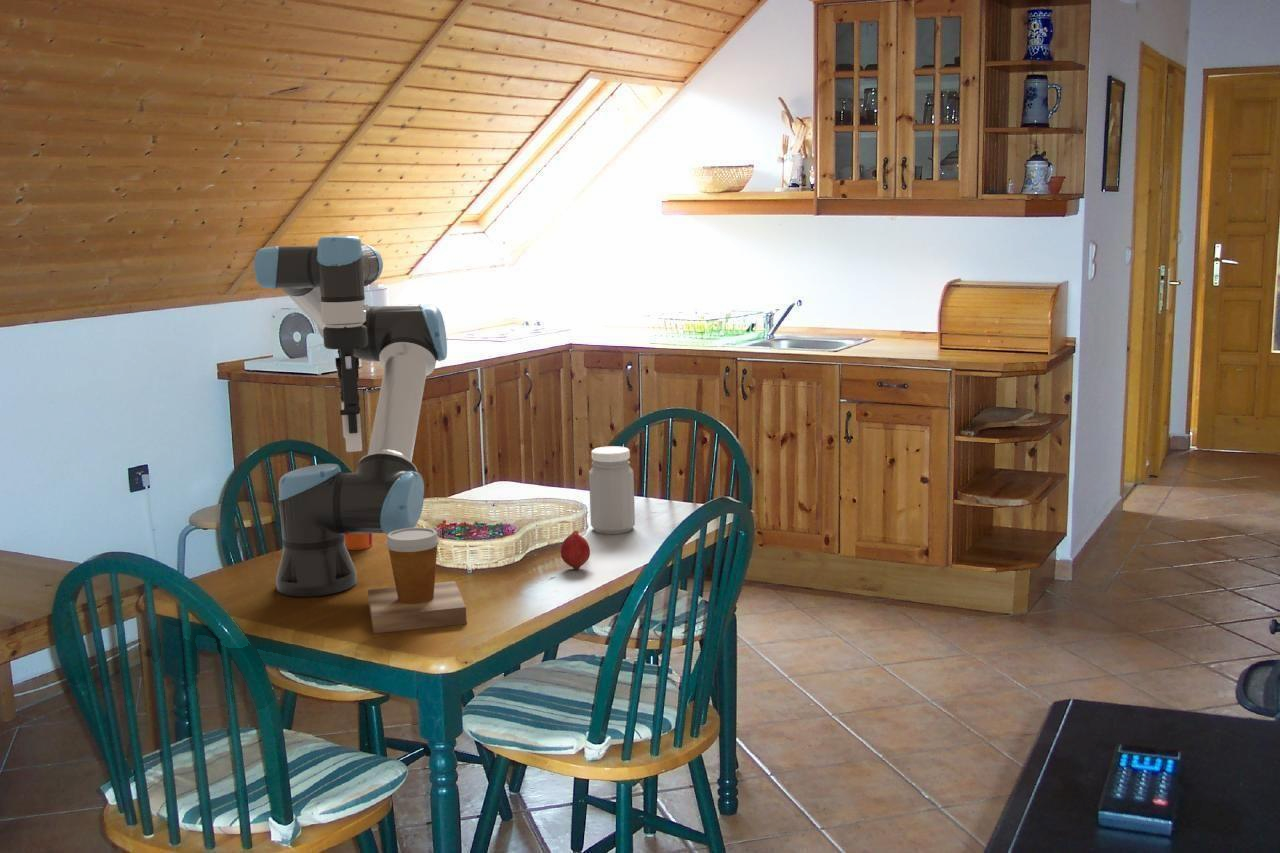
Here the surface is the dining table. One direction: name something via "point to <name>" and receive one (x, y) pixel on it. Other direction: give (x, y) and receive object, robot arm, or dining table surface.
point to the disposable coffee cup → (413, 563)
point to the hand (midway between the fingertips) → (352, 444)
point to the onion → (575, 550)
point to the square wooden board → (416, 609)
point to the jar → (611, 490)
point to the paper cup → (358, 541)
